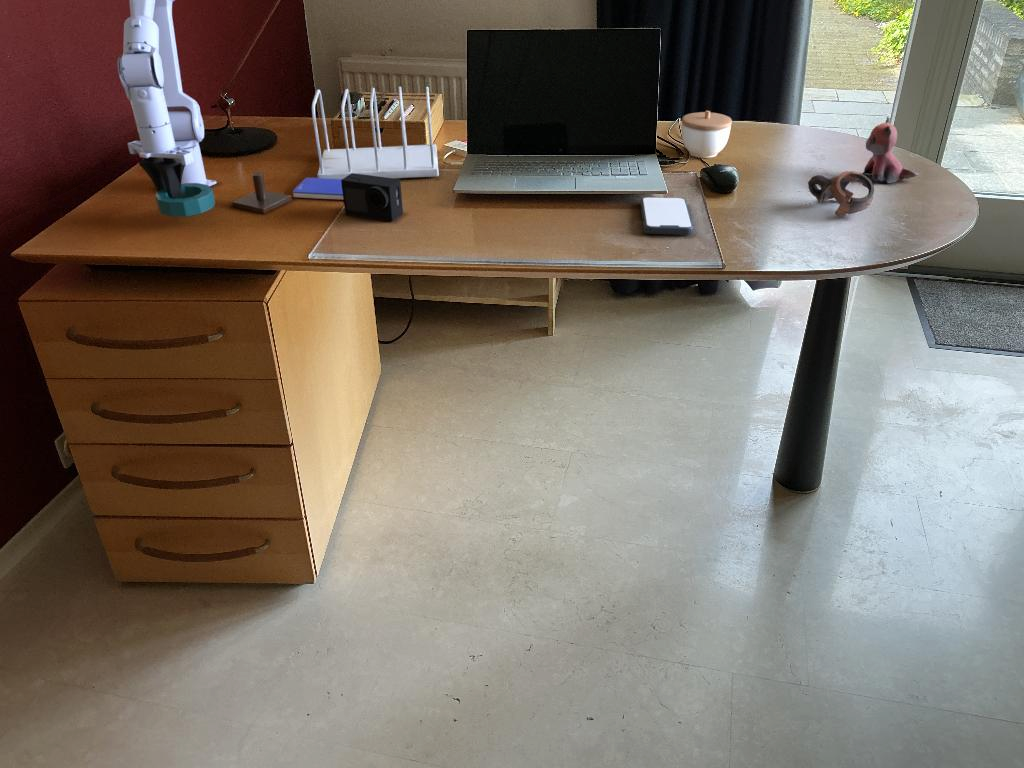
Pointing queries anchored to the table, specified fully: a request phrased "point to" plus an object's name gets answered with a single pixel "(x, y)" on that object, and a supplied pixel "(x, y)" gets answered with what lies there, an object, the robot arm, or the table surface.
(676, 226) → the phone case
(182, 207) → the ring
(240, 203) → the stand
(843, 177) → the brown curved piece
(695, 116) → the trinket box
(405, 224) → the table surface
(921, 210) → the table surface
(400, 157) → the file sorter
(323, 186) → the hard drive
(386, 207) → the digital camera
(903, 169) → the stuffed fox
